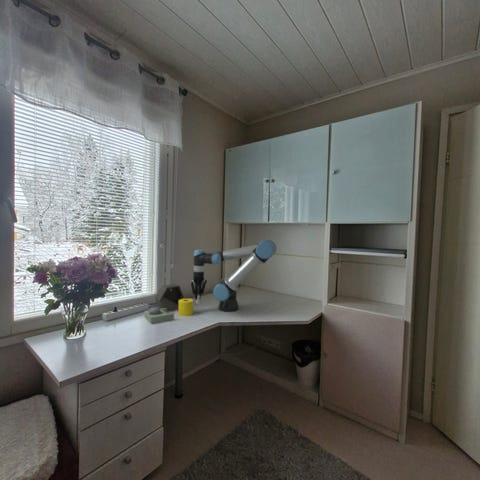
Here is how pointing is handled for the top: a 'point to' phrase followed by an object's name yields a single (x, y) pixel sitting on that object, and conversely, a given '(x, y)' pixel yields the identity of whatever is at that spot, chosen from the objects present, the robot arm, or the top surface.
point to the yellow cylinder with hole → (185, 307)
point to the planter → (169, 297)
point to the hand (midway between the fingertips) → (197, 303)
